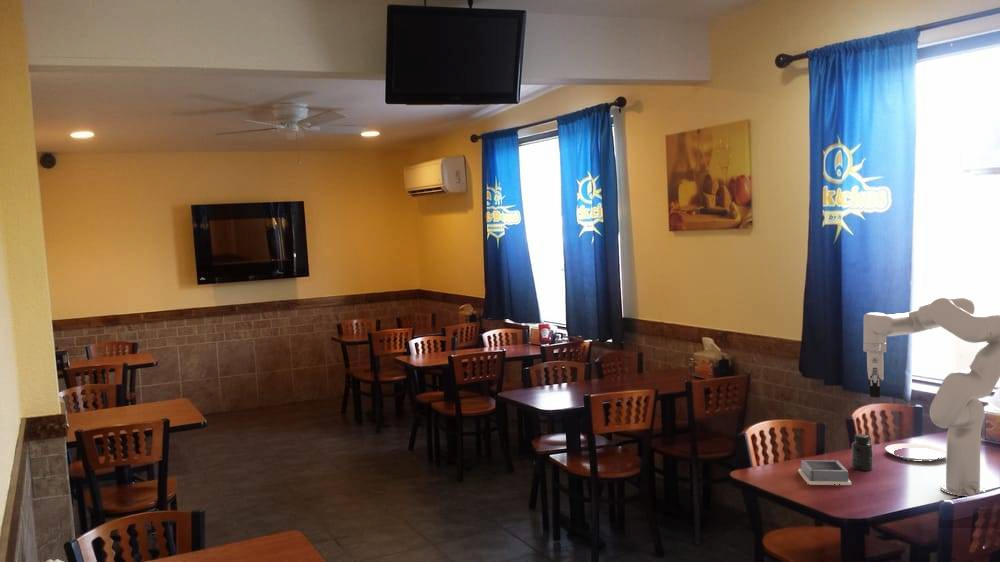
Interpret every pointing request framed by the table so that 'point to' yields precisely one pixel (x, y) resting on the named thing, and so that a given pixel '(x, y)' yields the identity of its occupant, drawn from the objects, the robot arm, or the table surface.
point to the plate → (904, 445)
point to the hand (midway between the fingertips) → (874, 394)
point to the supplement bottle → (862, 453)
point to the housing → (824, 472)
